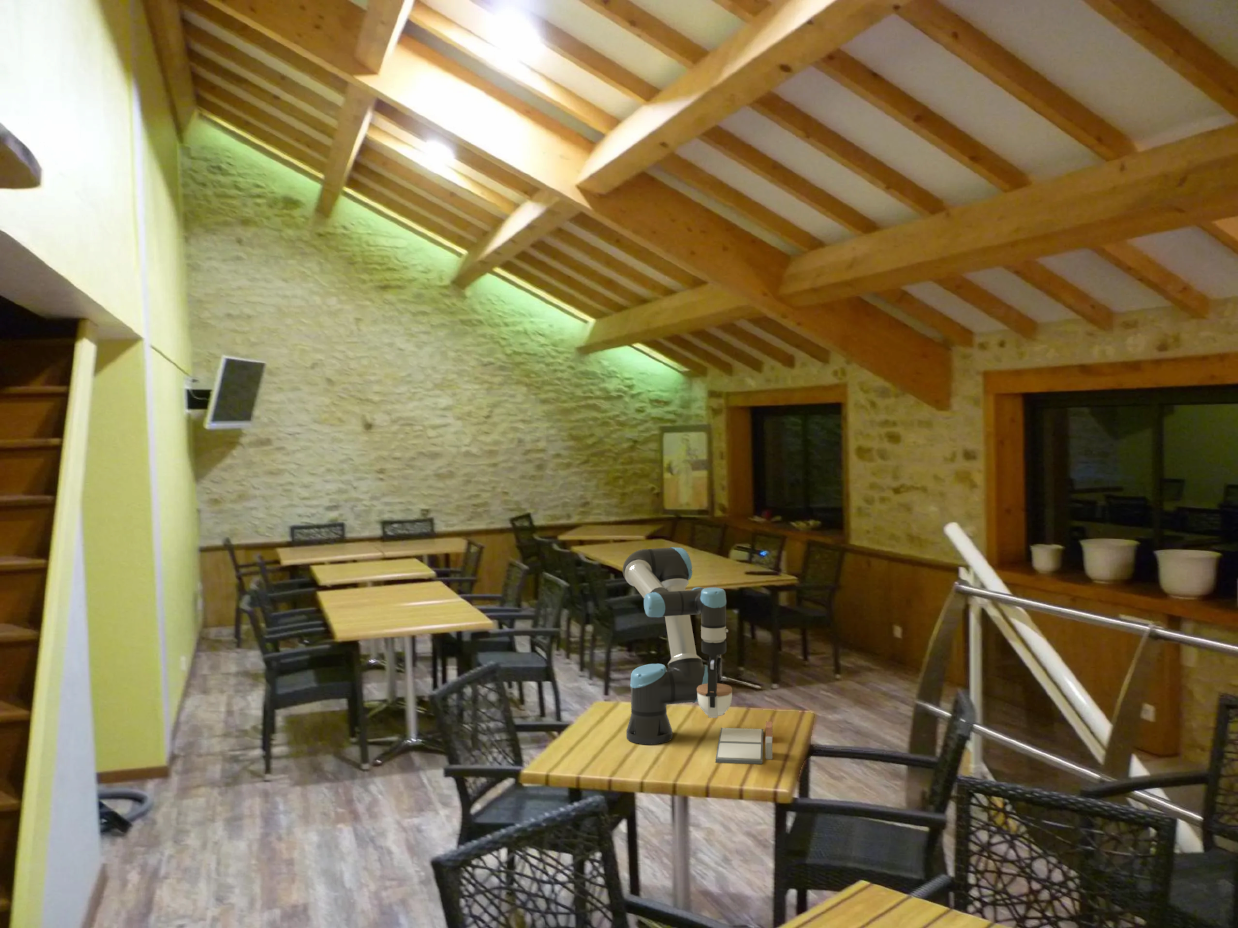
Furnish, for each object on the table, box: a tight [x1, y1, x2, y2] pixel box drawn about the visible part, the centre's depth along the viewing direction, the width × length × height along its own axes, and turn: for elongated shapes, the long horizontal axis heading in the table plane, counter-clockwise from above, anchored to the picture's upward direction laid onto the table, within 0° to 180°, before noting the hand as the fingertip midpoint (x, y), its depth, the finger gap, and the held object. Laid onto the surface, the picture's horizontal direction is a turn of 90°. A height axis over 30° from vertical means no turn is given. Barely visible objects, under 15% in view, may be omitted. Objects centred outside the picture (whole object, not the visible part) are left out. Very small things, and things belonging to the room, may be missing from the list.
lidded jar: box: [697, 683, 733, 717], centre depth 289 cm, size 11×11×9 cm
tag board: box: [715, 721, 773, 765], centre depth 302 cm, size 17×30×5 cm, turn 171°
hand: (714, 711), depth 289 cm, fingers closed on lidded jar, 11 cm apart
